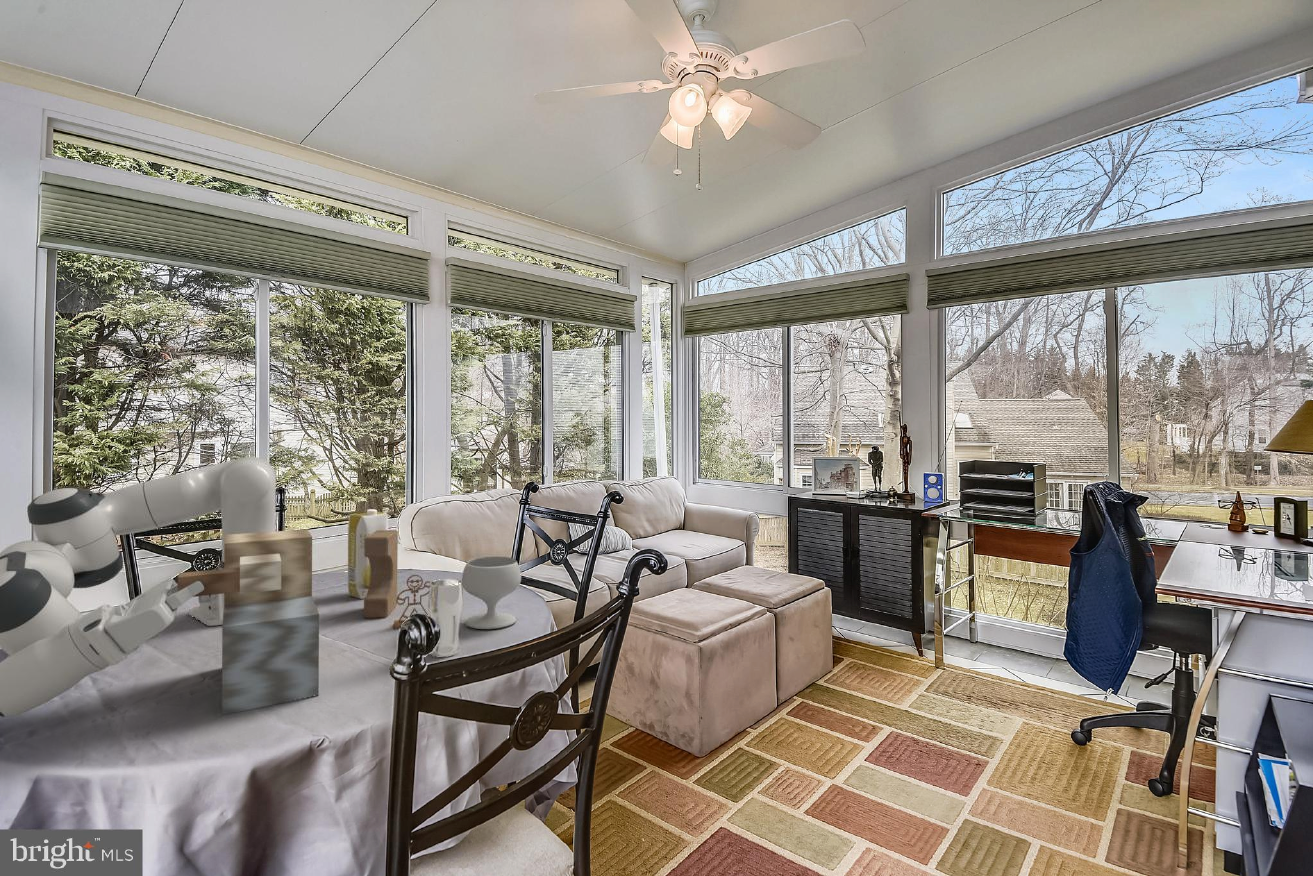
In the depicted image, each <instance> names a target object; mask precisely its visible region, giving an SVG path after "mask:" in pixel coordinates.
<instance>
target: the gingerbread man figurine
mask: <svg viewBox="0 0 1313 876" xmlns="http://www.w3.org/2000/svg"><path fill="white" fill-rule="evenodd" d="M413 577H418V578H420V580H419V579H416V580H414V579H411V578H413ZM410 579H411V580H410ZM420 582H421V583H420ZM430 582H431V581H430V580H427V581H425V582H424V580H423V577H422V576H421V575H419V574H411V575H410V576H409V577H408V578H407V580H406V586H407V588H408V589H407V588H406V589H403V590H402V591H401V592H399V593H398V594H397V600H396V601H397V605H399V606H402V605H404V604H405V603H406V599H407V606H406V607H405V609H404V611H403V612H402V615H401V616H400V617H399V619H394V620H393V628H395V629H394V630H399V628H401V625H402V623H403V622H404V621H405V620H406V619H408V617H410V616H411V615H413V614H414V612H415V613H416V614H417V613H418V614H419V612H418V611H417V609H416V607H414V608H413V610H412V611H411V613H410V614H409V616H407V615H406V612H407V610H408V608H409V607H410V606H421V608H422V610H423V611H424V613H426V614H427V615H429V613H428V612H427V611H426V609H425V608H424V606H423V605H422V597H425V596H427V595H429V590H428V591H427V592H426V593H423V594H420V595H419V602H416V601H417V599H416V596H417V594H419V591H420V590H421V591H422V590H424V589H425V588H427V589H429V588H430V585H428V583H429V584H430ZM414 583H416V584H417V585H412V584H414ZM423 583H424V584H423ZM404 592H410V594H412V595H413V596H412V597H413V600H412V601H413V602H410V596H409V595H407V596H405V597H404V598H402V597H400V596H401V595H402V594H403V593H404ZM399 601H401V602H399ZM426 614H425V615H426ZM427 615H426V616H427ZM411 617H412V616H411ZM411 617H410V618H411ZM402 618H403V619H402ZM401 629H402V628H401Z"/></svg>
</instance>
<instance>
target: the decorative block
mask: <svg viewBox="0 0 1313 876" xmlns="http://www.w3.org/2000/svg"><path fill="white" fill-rule="evenodd" d="M398 536H399V533H398V530H395V529H391V530H390V529H388V530H377V531H375V532H374V533H372V534H371V535H369V536H368V537H366V538H365V543H364V556H365V557H368V559H369V563H370V583H369V589H368V593H367V596H366V598H365V599H363V618H364V619H381V618H383V617H386V618H387V617H388V616H389V615H390V614H391V613H392V611H393V610H394V609H395V608H396V606H397V605H398V604H397V601H396V600H397V596H398V550H399V548H398V545H399V544H398V542H399V541H398V540H399V539H398V538H399V537H398Z"/></svg>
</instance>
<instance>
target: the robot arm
mask: <svg viewBox="0 0 1313 876" xmlns="http://www.w3.org/2000/svg"><path fill="white" fill-rule="evenodd" d="M276 477H277V475H276V471H275V468H274V467H273V466H272V465H271V463H269V462H268V461H267V460H265V459H263V458H260V457H256V456H245V457H242V458H241V457H240V458H237V459H233V460H229V461H224V462H222V463H221V462H220V463H216V464H212V465H209V466H205V467H200V468H196V469H194V470H189V471H186V472H181V473H177V474H172V475H168V476H164V477H159V478H156V479H152V480H146V481H144V482H138V483H136V484H132V485H128V486H125V487H122V488H119V489H116V490H113V491H110V492H108V493H105V494H103V493H101V492H93V490H90V489H86V488H84V487H75V486H71V487H64V488H57V489H53V490H49V491H48V492H45V493H43V494H40V495H39V496H37V497H35V498H34V499H32V501H31V502H30V503H29V504H28V506H27V518H28V522H29V524H31V525H32V528H33V531H34V533H35V536H36V539H37V540H24V541H23V540H21V541H19V542H16V543H13V544H11V545H10V546H7V547H6V548H4V549H3V550H2V551H1V552H0V649H1V650H2V651H4V652H5V653H6V654H7V657H6V658H5V659H3V660H2V661H0V717H2V718H7V719H9V718H10V719H11V718H14V717H17V716H19V715H22V714H25V713H27V712H29V711H32V710H33V709H35V708H38V707H40V706H41V705H43V704H45V703H47V702H50V701H51V700H53V699H55V698H56V697H59V696H61V695H62V694H64V693H66V692H68V691H69V690H71V689H72V688H75V686H77V685H78V684H79V683H80V682H82V680H83V679H85V678H86V677H88V676H90V675H92V674H94V673H98V672H101V671H103V670H105V669H107V668H108V667H110V666H112V667H113V666H115V665H118V664H119V663H121V662H123V661H124V660H125V659H127V658H128V656H129V655H130V654H132V653H134V652H136V651H138V650H139V649H140V646H142V645H143V644H144V643H146V642H147V641H149V640H151V639H152V638H153V637H154V636H157V635H158V634H159V633H160V632H162V631H164V629H166V628H167V627H169V625H171V624H173V622H174V620H175V617H176V614H177V611H178V608H179V607H181V606H183V605H184V604H186V603H187V602H188V601H189V600H191V599H192V598H194V597H193V596H195V595H196V594H198V593H200V592H201V591H203V590H204V585H203V583H202V582H201V581H200V580H196V581H195V582H193V583H191V584H189V585H188V586H187V587H185V588H183V589H182V590H180V591H178V582H176V580H174V579H173V578H168V579H165V580H164V581H162V582H160V583H158V584H156V585H154V586H153V587H150V588H149V589H148V590H146V591H144V592H143V593H140V594H139V595H137V596H136V597H134V598H133V599H131V600H130V601H128V602H126V604H122V603H121V604H119V605H117V606H115V607H113V606H112V605H110V604H102V605H100V606H99V607H97V608H95V609H93V610H91V611H89V612H88V613H86V614H83V613H82V612H80V610H78V609H77V608H76V607H75V606H74V605H73V604H72V603H71V602H70V601H69V600H68V599H67V598H68V597H69V596H70V595H71V593H72V591H73V589H89V588H93V587H96V586H99V585H102V584H104V583H107V582H109V581H110V580H112V579H114V578H115V577H116V576H117V575H118V574H119V573H120V572H121V571H122V569H123V568H124V559H123V558H124V557H123V553H122V551H121V550H120V549H119V546H118V545H119V544H118V542H117V538H116V536H121V535H122V536H123V535H130V534H136V533H142V532H147V531H151V530H155V529H159V528H163V527H167V526H171V525H175V524H178V523H182V522H187V521H191V520H193V519H194V520H195V519H196V518H201V517H203V516H205V515H210V514H213V513H215V512H218V511H221V512H220V514H221V515H220V516H221V560H219V561H216V563H217V565H216V567H217V569H224V543H225V535H231V534H246V533H260V532H275V531H276V529H277V527H276V522H277V521H276V501H277V500H276V498H277V497H276V490H277V489H276V487H277V486H276V485H277V483H276V482H277V479H276ZM197 597H198V598H197V600H198V603H199V605H198V606H196V607H193V608H191V609H189V610H188V611H187V614H188V613H189V615H188V616H190V615H191V616H190V617H192V616H193V617H195V618H196V619H195V618H194V619H195V620H197V619H198V620H200V621H201V622H200V621H199V622H200V623H202V622H203V623H204V625H205V624H206V625H205V626H208V627H211V626H222V625H223V614H224V593H223V594H215V595H206V596H197ZM193 617H192V618H193ZM198 620H197V621H198ZM203 623H202V624H203Z"/></svg>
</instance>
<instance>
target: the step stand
mask: <svg viewBox="0 0 1313 876" xmlns="http://www.w3.org/2000/svg"><path fill="white" fill-rule="evenodd" d="M269 554H280V558H281V589H280V590H271V591H262V592H253V593H245V594H240V592H232V593H224V614H223V624H222V625H221V627H222V629H221V633H222V635H221V647H222V648H221V650H222V651H221V652H222V653H221V654H222V655H221V715H222V716H223V715H228V714H234V713H238V712H244V711H249V710H254V709H258V708H264V707H268V706H273V705H278V703H279V704H283V703H287V702H286V701H289V702H293V701H292V700H294V701H296V700H295V699H299V700H303V699H302V698H304V699H306V698H305V697H309V698H312V697H311V696H314V695H319V693H320V692H319V688H320V687H319V683H320V682H319V679H320V678H319V675H320V674H319V672H320V671H319V669H320V667H319V665H320V661H319V660H320V613H319V611H318V608H317V605H316V603H315V601H314V598H313V596H312V595H313V536H312V534H311V532H310V531H309V529H291V530H281V531H280V530H278V531H275V532H260V533H246V534H231V535H225V543H224V569H227V568H238V567H240V557H246V556H257V555H269ZM314 697H315V696H314Z"/></svg>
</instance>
